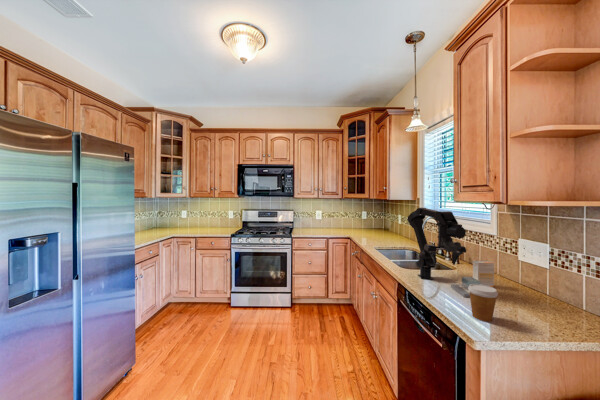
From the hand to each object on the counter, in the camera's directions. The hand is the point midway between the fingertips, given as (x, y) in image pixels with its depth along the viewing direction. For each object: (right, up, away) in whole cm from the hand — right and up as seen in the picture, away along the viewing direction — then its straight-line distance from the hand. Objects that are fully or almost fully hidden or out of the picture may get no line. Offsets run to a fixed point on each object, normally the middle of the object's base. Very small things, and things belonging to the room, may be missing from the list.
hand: (444, 264), depth 127 cm
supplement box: (+22, -12, +3) cm, 26 cm away
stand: (+9, -12, -7) cm, 17 cm away
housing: (+9, -11, -7) cm, 16 cm away
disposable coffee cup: (-4, -13, -31) cm, 34 cm away
